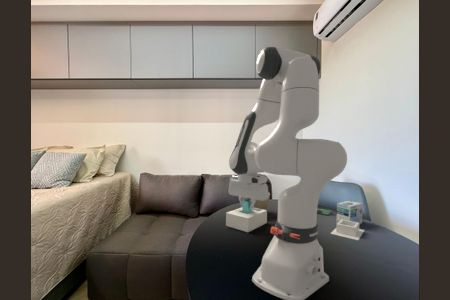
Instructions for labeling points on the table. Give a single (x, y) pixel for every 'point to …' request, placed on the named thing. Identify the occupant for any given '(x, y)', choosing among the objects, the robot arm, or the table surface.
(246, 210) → the plug
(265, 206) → the planter bowl
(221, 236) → the table surface
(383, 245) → the table surface
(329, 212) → the disk drive
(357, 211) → the light bulb box
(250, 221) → the white box
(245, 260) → the table surface
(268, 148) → the robot arm
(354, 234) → the holster
